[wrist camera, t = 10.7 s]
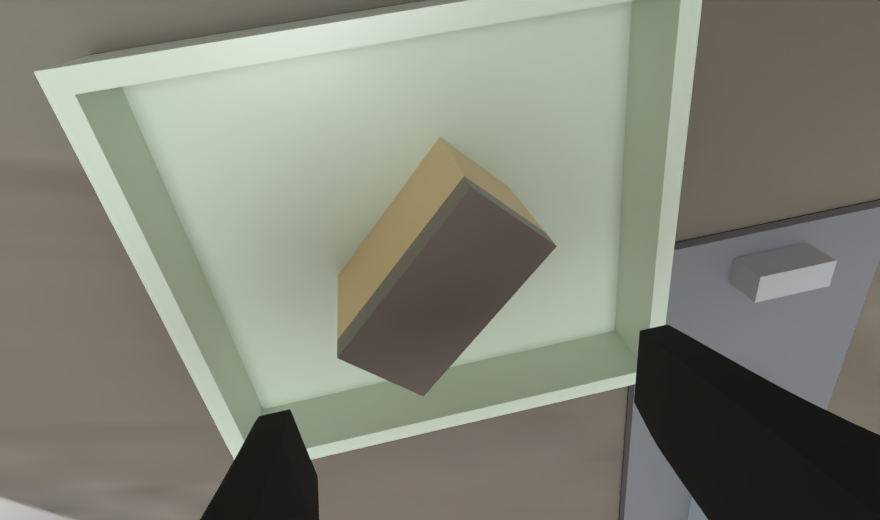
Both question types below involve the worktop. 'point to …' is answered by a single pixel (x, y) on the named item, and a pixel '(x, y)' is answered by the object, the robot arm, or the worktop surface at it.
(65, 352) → the worktop surface
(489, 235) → the block
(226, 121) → the parts tray
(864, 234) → the fuse board
